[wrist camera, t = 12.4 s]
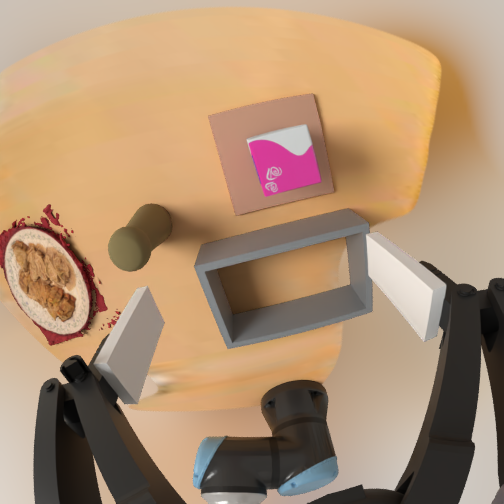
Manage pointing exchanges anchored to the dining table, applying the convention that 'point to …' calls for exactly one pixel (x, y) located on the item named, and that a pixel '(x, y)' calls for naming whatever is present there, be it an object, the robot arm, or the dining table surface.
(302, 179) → the supplement box
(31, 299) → the plate with food
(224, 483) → the robot arm
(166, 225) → the cork
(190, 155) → the dining table surface
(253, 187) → the mat
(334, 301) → the rectangular frame
